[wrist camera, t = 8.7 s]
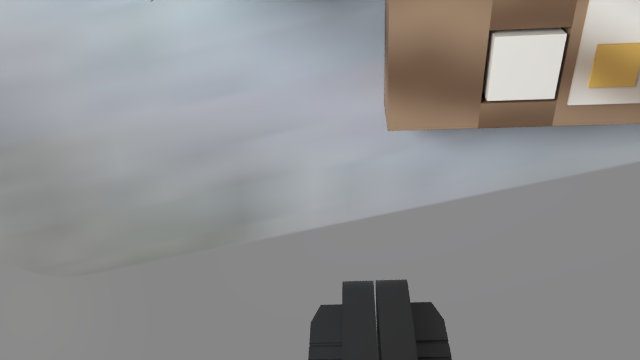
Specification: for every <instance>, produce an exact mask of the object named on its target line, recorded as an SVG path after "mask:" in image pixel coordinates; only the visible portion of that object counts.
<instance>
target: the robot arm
mask: <svg viewBox="0 0 640 360" xmlns="http://www.w3.org/2000/svg"><path fill="white" fill-rule="evenodd" d="M342 289H343V292H342V296H343V299H342V301H343V303H342V304H341V305H321V306H320V308H319V309H318V311H317V313H316V315H315V316H314V318H313V320H312V322H311V328H310V347H309V359H308V360H452V359H451V353H450V347H449V344H448V337H447V332H446V327H445V322H444V319H443V318H442V316H441V315H440V314H439V312H438V311H437V310H436V308H435V307H434V305H433V304H432V303H431V302H416V303H410V297H409V291H408V283H407V280H376V316H375V301H374V285H373V281H348V282H347V281H345V282H343V288H342ZM376 319H377V331H376ZM377 345H378V347H377Z"/></svg>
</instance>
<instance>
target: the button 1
mask: <svg viewBox="0 0 640 360" xmlns="http://www.w3.org/2000/svg"><path fill="white" fill-rule="evenodd" d="M566 37H567V33H566V32H565V31H563V30H562V29H561V28H560V27H558V28H534V29H510V30H489V37H488V46H487V54H486V63H485V71H484V80H483V88H482V92H483V94H484V96H485V98H486V100H487V101H502V100H533V99H554V97H555V92H556V87H557V82H558V77H559V72H560V67H561V62H562V57H563V52H564V47H565V42H566Z"/></svg>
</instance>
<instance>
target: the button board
mask: <svg viewBox="0 0 640 360" xmlns="http://www.w3.org/2000/svg"><path fill="white" fill-rule="evenodd" d="M558 27H560V28H561V29H562V30H563V31H565V32H566V33H567V37H566V42H565V47H564V52H563V57H562V62H561V67H560V72H559V77H558V82H557V87H556V92H555V97H554V99H533V100H502V101H487V100H486V98H485V96H484V94H483V92H482V88H483V80H484V71H485V63H486V54H487V46H488V37H489V30H510V29H534V28H558ZM384 106H385V113H386V121H387V128H388V131H399V130H433V129H468V128H502V127H536V126H571V125H605V124H640V0H385V87H384Z"/></svg>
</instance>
